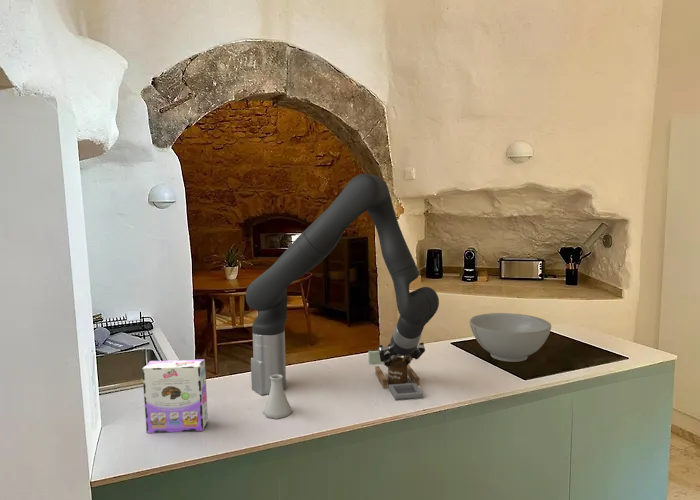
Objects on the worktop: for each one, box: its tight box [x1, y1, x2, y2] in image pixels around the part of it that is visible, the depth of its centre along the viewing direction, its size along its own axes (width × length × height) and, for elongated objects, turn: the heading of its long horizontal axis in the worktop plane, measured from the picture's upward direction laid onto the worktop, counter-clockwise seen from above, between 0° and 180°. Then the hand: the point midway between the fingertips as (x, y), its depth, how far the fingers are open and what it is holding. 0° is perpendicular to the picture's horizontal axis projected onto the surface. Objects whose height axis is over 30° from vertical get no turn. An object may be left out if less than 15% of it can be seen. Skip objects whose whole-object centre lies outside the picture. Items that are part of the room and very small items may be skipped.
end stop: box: [367, 350, 402, 365], centre depth 170 cm, size 2×11×4 cm, turn 98°
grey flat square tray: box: [388, 382, 424, 401], centre depth 144 cm, size 8×8×1 cm
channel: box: [374, 364, 420, 389], centre depth 155 cm, size 12×11×2 cm
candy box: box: [141, 358, 209, 434], centre depth 124 cm, size 14×6×16 cm, turn 92°
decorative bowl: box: [469, 312, 552, 363], centre depth 175 cm, size 27×27×12 cm
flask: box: [262, 374, 293, 420], centre depth 132 cm, size 7×7×10 cm
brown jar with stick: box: [387, 356, 409, 385], centre depth 152 cm, size 6×6×12 cm
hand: (396, 363), depth 154 cm, fingers closed on brown jar with stick, 5 cm apart
